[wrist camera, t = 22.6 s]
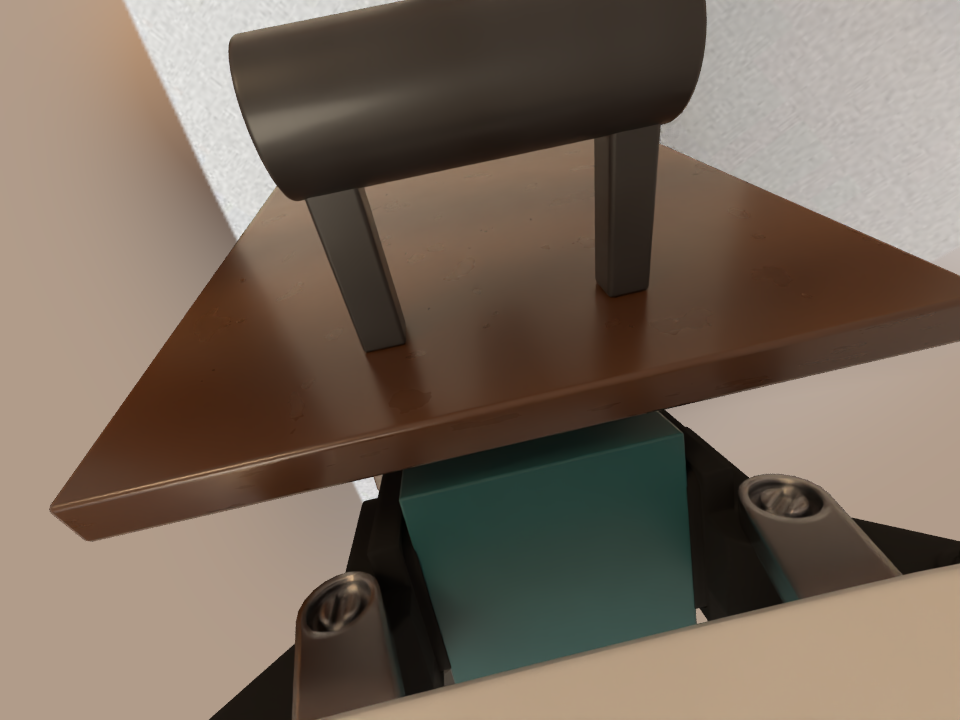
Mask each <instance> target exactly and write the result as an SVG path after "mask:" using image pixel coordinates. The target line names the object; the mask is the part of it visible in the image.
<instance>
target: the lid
mask: <svg viewBox="0 0 960 720" xmlns="http://www.w3.org/2000/svg"><path fill="white" fill-rule="evenodd" d="M706 25H707V16H706V1H705V0H404V1H399V2H394V3H389V4H384V5H379V6H374V7H369V8H364V9H359V10H354V11H349V12H344V13H339V14H334V15H329V16H324V17H319V18H314V19H309V20H304V21H299V22H294V23H289V24H284V25H278V26H273V27H268V28H263V29H258V30H253V31H248V32H243V33H238V34H235V35H234V36H233V37H232V38H231V40H230V42H229V50H228V52H229V64H230V71H231V76H232V81H233V85H234V89H235V93H236V97H237V100H238V104H239V107H240V110H241V113H242V116H243V119H244V121H245V124H246V127H247V129H248V132H249V134H250V137H251V139H252V141H253V143H254V146H255V148H256V150H257V152H258V154H259V156H260V158H261V160H262V162H263V164H264V166H265V168H266V169H267V171H268V173H269V174H270V176H271V178H272V179H273V181H274V182H275V184H276V185H277V186H276V188H275V189H274V190H273V192H272V193H271V195H270V196H269V198H268V199H267V200H266V202H265V203H264V205H263V206H262V207H261V209H260V210H259V212H258V213H257V214H256V216H255V217H254V219H253V220H252V222H251V223H250V224H249V226H248V227H247V229H246V230H245V231H244V233H243V234H242V236H241V237H240V238H239V240H238V241H237V243H236V244H235V246H234V247H233V249H232V250H231V251H230V253H229V254H228V256H227V257H226V258H225V260H224V261H223V263H222V264H221V265H220V267H219V268H218V270H217V271H216V272H215V274H214V275H213V277H212V278H211V280H210V281H209V282H208V284H207V285H206V287H205V288H204V289H203V291H202V292H201V294H200V295H199V296H198V298H197V300H196V301H195V302H194V304H193V305H192V306H191V308H190V309H189V310H188V312H187V313H186V315H185V316H184V318H183V319H182V320H181V322H180V323H179V325H178V326H177V327H176V329H175V330H174V332H173V333H172V335H171V336H170V337H169V339H168V340H167V342H166V343H165V344H164V346H163V347H162V349H161V350H160V352H159V353H158V354H157V356H156V357H155V359H154V360H153V361H152V363H151V364H150V366H149V367H148V368H147V370H146V371H145V373H144V374H143V376H142V377H141V378H140V380H139V381H138V382H137V384H136V385H135V387H134V388H133V390H132V391H131V392H130V394H129V395H128V397H127V398H126V399H125V401H124V402H123V404H122V405H121V406H120V408H119V409H118V411H117V412H116V414H115V415H114V416H113V418H112V419H111V421H110V422H109V423H108V425H107V426H106V428H105V429H104V430H103V432H102V433H101V435H100V436H99V438H98V439H97V440H96V442H95V443H94V445H93V446H92V447H91V449H90V450H89V452H88V453H87V454H86V456H85V457H84V459H83V460H82V462H81V463H80V464H79V466H78V467H77V469H76V470H75V471H74V473H73V474H72V476H71V477H70V478H69V480H68V481H67V483H66V484H65V486H64V487H63V488H62V490H61V491H60V493H59V494H58V495H57V497H56V498H55V500H54V501H53V502H52V504H51V505H50V509H49V510H50V512H51V513H52V514H53V515H54V516H55V517H56V518H57V519H59V520H60V521H61V522H63V523H64V524H65V525H66V526H68V527H69V528H70V529H71V530H72V531H74V532H75V533H76V534H77V535H79V536H80V537H81V538H82V539H84V540H86V541H92V542H93V541H96V540H101V539H106V538H110V537H114V536H119V535H123V534H127V533H132V532H136V531H140V530H144V529H149V528H153V527H158V526H162V525H166V524H170V523H175V522H179V521H184V520H188V519H192V518H197V517H201V516H205V515H210V514H214V513H218V512H223V511H227V510H231V509H236V508H240V507H244V506H248V505H253V504H257V503H261V502H266V501H270V500H274V499H279V498H283V497H288V496H292V495H296V494H301V493H305V492H309V491H313V490H318V489H322V488H327V487H331V486H335V485H340V484H344V483H348V482H353V481H357V480H361V479H365V478H370V477H374V476H378V475H383V474H387V473H391V472H396V471H400V470H404V469H409V468H413V467H417V466H422V465H426V464H430V463H435V462H439V461H443V460H448V459H452V458H456V457H461V456H465V455H469V454H474V453H478V452H482V451H487V450H491V449H495V448H500V447H504V446H508V445H513V444H517V443H521V442H526V441H530V440H534V439H539V438H543V437H547V436H552V435H556V434H560V433H565V432H569V431H573V430H578V429H582V428H586V427H591V426H595V425H599V424H604V423H608V422H612V421H617V420H621V419H625V418H630V417H634V416H638V415H643V414H647V413H651V412H656V411H660V410H664V409H669V408H673V407H677V406H682V405H686V404H690V403H695V402H699V401H703V400H708V399H712V398H716V397H720V396H725V395H729V394H734V393H738V392H742V391H747V390H751V389H755V388H759V387H764V386H768V385H772V384H776V383H781V382H785V381H789V380H794V379H798V378H803V377H807V376H811V375H815V374H820V373H824V372H829V371H833V370H837V369H842V368H846V367H850V366H854V365H859V364H863V363H868V362H872V361H876V360H880V359H885V358H889V357H894V356H898V355H902V354H907V353H911V352H915V351H919V350H924V349H928V348H933V347H937V346H941V345H946V344H950V343H954V342H959V341H960V276H959V275H957V274H955V273H953V272H950V271H948V270H946V269H944V268H941V267H939V266H937V265H934V264H932V263H930V262H928V261H925V260H923V259H921V258H919V257H916V256H914V255H912V254H910V253H907V252H905V251H903V250H900V249H898V248H896V247H894V246H891V245H889V244H887V243H885V242H882V241H880V240H878V239H875V238H873V237H871V236H869V235H866V234H864V233H862V232H860V231H857V230H855V229H853V228H850V227H848V226H846V225H844V224H841V223H839V222H837V221H835V220H832V219H830V218H828V217H825V216H823V215H821V214H819V213H816V212H814V211H812V210H810V209H807V208H805V207H803V206H800V205H798V204H796V203H794V202H791V201H789V200H787V199H785V198H782V197H780V196H778V195H775V194H773V193H771V192H769V191H766V190H764V189H762V188H760V187H757V186H755V185H753V184H750V183H748V182H746V181H744V180H741V179H739V178H737V177H735V176H732V175H730V174H728V173H725V172H723V171H721V170H719V169H716V168H714V167H712V166H710V165H707V164H705V163H703V162H700V161H698V160H696V159H694V158H691V157H689V156H687V155H685V154H682V153H680V152H678V151H675V150H673V149H671V148H669V147H666V146H664V145H662V144H660V143H659V141H660V127H661V125H662V124H666V123H669V122H671V121H672V120H674V119H675V118H677V117H678V116H679V115H680V114H681V113H682V112H683V110H684V109H685V108H686V106H687V104H688V103H689V101H690V99H691V97H692V95H693V92H694V90H695V87H696V85H697V82H698V78H699V75H700V71H701V67H702V62H703V57H704V50H705V42H706Z"/></svg>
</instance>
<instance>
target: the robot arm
mask: <svg viewBox="0 0 960 720" xmlns="http://www.w3.org/2000/svg"><path fill="white" fill-rule="evenodd" d="M659 412H660V413H661V414H662V415H663V416H664V417H665V418H667V419H668V420H669V421H670V422H671V423H672V424H673V425H675V426H676V427H677V428H678V429H679V430H680V431H681V432H683V434H684V445H685V460H686V474H687V487H686V488H687V503H688V517H689V532H690V546H691V561H692V576H693V590H694V605H695V608H696V609H697V608H700V610H701V611H702V613H703V614H704V615H705V617H706V618H707V620H708V621H707V622H704V623H699V624H695V625H691V626H687V627H683V628H679V629H675V630H671V631H666V632H662V633H658V634H654V635H650V636H646V637H642V638H638V639H634V640H630V641H626V642H621V643H617V644H613V645H609V646H605V647H601V648H597V649H593V650H589V651H585V652H581V653H577V654H573V655H569V656H565V657H561V658H557V659H553V660H549V661H544V662H540V663H536V664H532V665H528V666H524V667H520V668H516V669H513V670H509V671H505V672H501V673H497V674H493V675H489V676H485V677H481V678H477V679H473V680H469V681H465V682H461V683H457V684H453V685H449V686H445V687H444V670H448V669H451V664H450V661H449V658H448V655H447V651H446V648H445V645H444V641H443V638H442V635H441V632H440V628H439V625H438V622H437V619H436V615H435V612H434V609H433V605H432V602H431V599H430V596H429V592H428V589H427V586H426V582H425V579H424V576H423V573H422V569H421V566H420V563H419V559H418V556H417V553H416V551H415V550H414V548H413V545H412V542H411V538H410V535H409V532H408V529H407V525H406V522H405V519H404V516H403V512H402V509H401V506H400V502H399V496H400V488H401V479H402V471H403V470H400V471H396V472H391V473H387V474H383V475H382V479H381V484H380V490H379V495H378V498H375V499H371V500H367V501H364V502H363V504H362V507H361V511H360V515H359V520H358V523H357V528H356V532H355V536H354V540H353V544H352V548H351V552H350V556H349V560H348V564H347V568H346V572H345V573H344V574H340V575H338V576H335V577H333V578H331V579H329V580H327V581H325V582H324V583H323V584H321V585H320V586H319V587H317V588H316V589H315V590H313V592H312V593H311V594H310V595H309V596H308V597H307V598H306V599H305V601H304V602H303V604H302V606H301V608H300V609H299V611H298V615H297V620H296V634H295V644H294V645H293V646H292V647H291V648H289V650H287V651H286V652H285V653H284V654H283V655H281V656H280V657H279V658H278V659H277V660H276V661H275V662H274V663H272V664H271V665H270V666H269V667H268V668H267V669H266V670H265V671H263V672H262V673H261V674H260V675H259V676H258V677H257V678H255V679H254V680H253V681H252V682H251V683H250V684H249V685H248V686H246V687H245V688H244V689H243V690H242V691H241V692H240V693H239V694H238V695H236V696H235V697H234V698H233V699H232V700H231V701H229V702H228V703H227V704H226V705H225V706H224V707H223V708H221V709H220V710H219V711H218V712H217V713H216V714H215V715H214V716H212V717H211V718H210V719H209V720H960V541H956V540H951V539H947V538H942V537H938V536H933V535H928V534H924V533H919V532H915V531H910V530H906V529H901V528H897V527H892V526H888V525H883V524H878V523H874V522H869V521H864V520H860V519H855V518H851V517H850V516H849V515H848V514H847V513H846V512H845V510H844V509H843V508H842V507H841V506H840V505H839V504H838V503H837V502H836V501H835V499H834V498H832V496H831V495H830V494H829V493H828V492H827V491H825V490H824V489H823V488H822V487H820V486H818V485H816V484H814V483H812V482H810V481H808V480H805V479H802V478H799V477H796V476H790V475H784V474H763V475H758V476H754V477H751V478H749V477H748V476H746V475H745V474H744V473H743V472H742V471H740V470H739V469H738V468H737V467H736V466H734V465H733V464H732V463H731V462H730V461H728V460H727V459H726V458H725V457H724V456H722V455H721V454H720V453H719V452H717V451H716V450H715V449H714V448H713V447H711V446H710V445H709V444H708V443H707V442H705V441H704V440H703V439H702V438H701V437H700V436H698V435H697V434H696V433H695V432H694V431H692V430H691V429H690V428H688V427H684V426H683V425H682V424H681V423H680V422H679V421H677V420H676V419H675V418H674V417H673V416H671V415H670V414H669V413H668V412H667V411H666V410H660V411H659Z"/></svg>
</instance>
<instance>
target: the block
mask: <svg viewBox="0 0 960 720" xmlns="http://www.w3.org/2000/svg"><path fill="white" fill-rule="evenodd" d="M686 487H687V474H686V460H685V445H684V434H683V432H681V431H680V430H679V429H678V428H677V427H676V426H675V425H673V424H672V423H671V422H670V421H669V420H668V419H667V418H665V417H664V416H663V415H662V414H661V413H660V412H659V411H656V412H651V413H647V414H643V415H638V416H634V417H630V418H625V419H621V420H617V421H612V422H608V423H604V424H599V425H595V426H591V427H586V428H582V429H578V430H573V431H569V432H565V433H560V434H556V435H552V436H547V437H543V438H539V439H534V440H530V441H526V442H521V443H517V444H513V445H508V446H504V447H500V448H495V449H491V450H487V451H482V452H478V453H474V454H469V455H465V456H461V457H456V458H452V459H448V460H443V461H439V462H435V463H430V464H426V465H422V466H417V467H413V468H409V469H404V470H403V471H402V479H401V488H400V496H399V502H400V506H401V509H402V512H403V516H404V519H405V522H406V525H407V529H408V532H409V535H410V538H411V542H412V545H413V548H414V550H415V551H416V553H417V556H418V559H419V563H420V566H421V569H422V573H423V576H424V579H425V582H426V586H427V589H428V592H429V596H430V599H431V602H432V605H433V609H434V612H435V615H436V619H437V622H438V625H439V628H440V632H441V635H442V638H443V641H444V645H445V648H446V651H447V655H448V658H449V661H450V664H451V672H452V676H453V679H454V682H455V684H457V683H461V682H465V681H469V680H473V679H477V678H481V677H485V676H489V675H493V674H497V673H501V672H505V671H509V670H513V669H516V668H520V667H524V666H528V665H532V664H536V663H540V662H544V661H549V660H553V659H557V658H561V657H565V656H569V655H573V654H577V653H581V652H585V651H589V650H593V649H597V648H601V647H605V646H609V645H613V644H617V643H621V642H626V641H630V640H634V639H638V638H642V637H646V636H650V635H654V634H658V633H662V632H666V631H671V630H675V629H679V628H683V627H687V626H691V625H695V624H697V622H696V608H695V605H694V590H693V576H692V561H691V546H690V532H689V517H688V503H687V488H686Z"/></svg>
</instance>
